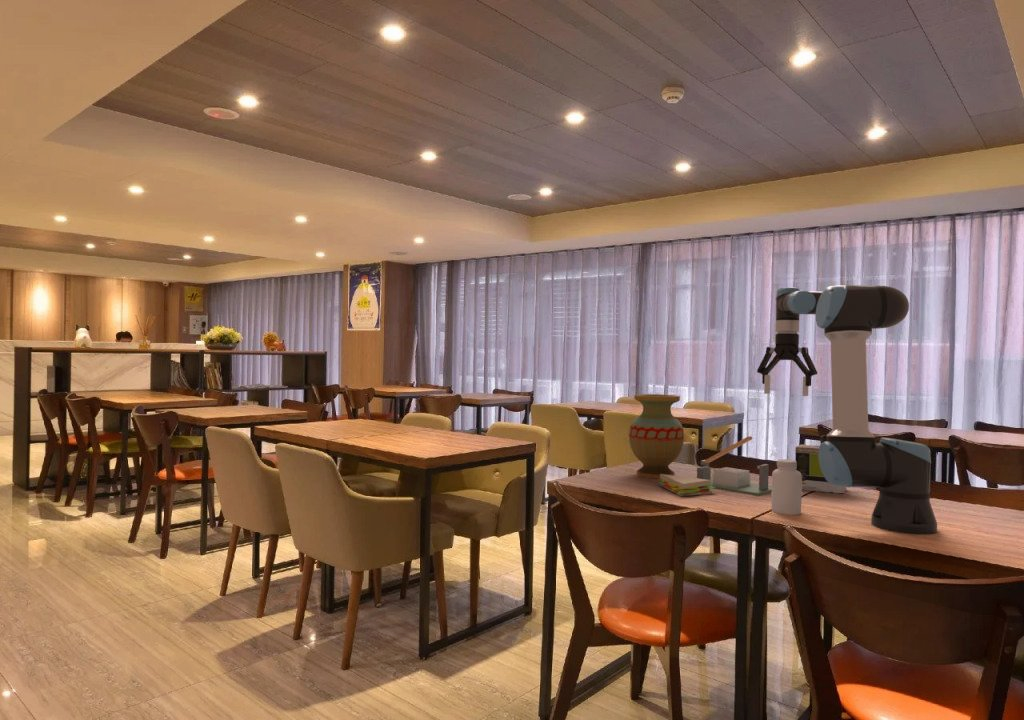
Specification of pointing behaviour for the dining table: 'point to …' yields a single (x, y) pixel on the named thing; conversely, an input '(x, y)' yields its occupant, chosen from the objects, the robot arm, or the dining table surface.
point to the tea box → (813, 470)
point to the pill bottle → (786, 488)
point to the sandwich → (685, 485)
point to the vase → (656, 435)
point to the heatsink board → (737, 479)
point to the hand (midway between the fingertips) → (785, 394)
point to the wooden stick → (724, 452)
